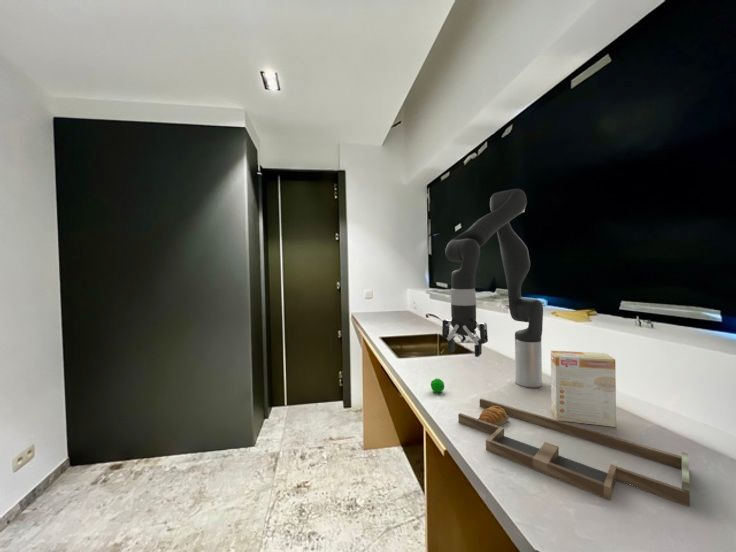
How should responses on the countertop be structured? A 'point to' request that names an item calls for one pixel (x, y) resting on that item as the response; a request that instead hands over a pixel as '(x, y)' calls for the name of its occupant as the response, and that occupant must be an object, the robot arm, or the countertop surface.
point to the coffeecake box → (583, 387)
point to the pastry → (494, 415)
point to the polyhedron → (437, 385)
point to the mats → (557, 460)
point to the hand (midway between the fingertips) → (464, 354)
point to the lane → (550, 452)
